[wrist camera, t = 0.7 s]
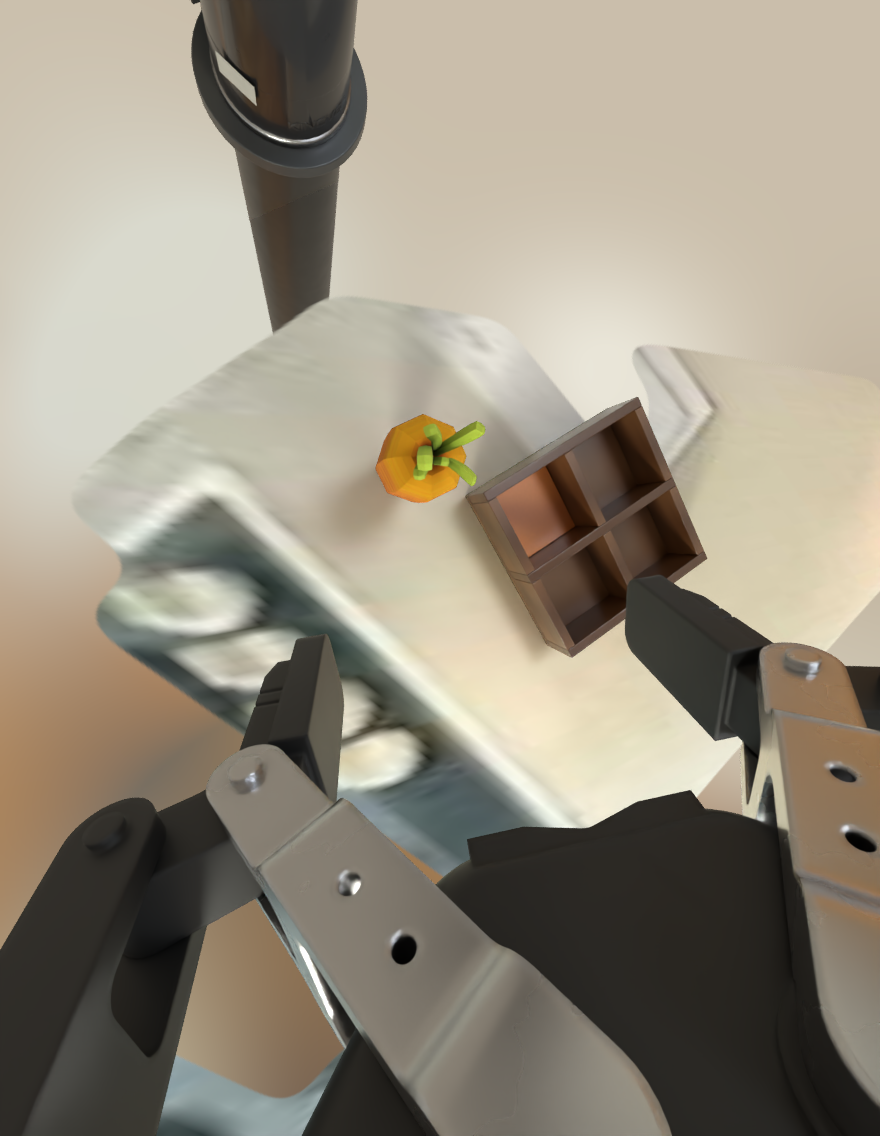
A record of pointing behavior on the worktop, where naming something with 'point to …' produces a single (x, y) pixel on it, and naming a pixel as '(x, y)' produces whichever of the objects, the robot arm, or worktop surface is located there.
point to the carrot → (425, 458)
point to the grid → (588, 525)
